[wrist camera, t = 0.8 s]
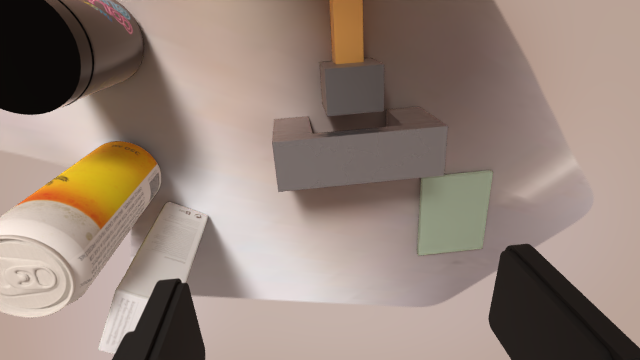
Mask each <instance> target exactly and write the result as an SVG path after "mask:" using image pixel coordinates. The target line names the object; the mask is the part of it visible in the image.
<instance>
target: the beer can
mask: <svg viewBox="0 0 640 360" xmlns="http://www.w3.org/2000/svg"><path fill="white" fill-rule="evenodd" d="M160 185H161V171H160V168H159V166H158V164H157V162H156V161H155V159H154V158H153V157H152V156H151V155H150V154H149V153H148V152H147V151H146V150H144V149H143V148H141V147H139V146H137V145H135V144H132V143H129V142H123V141H115V142H109V143H106V144H103V145H101V146H100V147H98V148H97V149H95V150H94V151H93V152H91V153H90V154H88V155H87V156H85V157H84V158H83V159H81V160H80V161H78V162H77V163H76V164H74V165H73V166H71V167H70V168H69V169H67V170H66V171H64V172H63V173H61V174H60V175H59V176H57V177H56V178H54V179H53V180H52V181H50V182H49V183H47V184H46V185H45V186H43V187H42V188H40V189H39V190H37V191H36V192H35V193H33V194H32V195H30V196H29V197H28V198H26V199H25V200H24V201H22V202H21V203H19V204H18V205H16V206H15V207H14V208H12V209H11V210H9V211H8V212H7V213H5V214H4V215H3V216H1V217H0V311H1V312H3V313H6V314H9V315H13V316H18V317H27V318H36V317H43V316H48V315H51V314H53V313H56V312H58V311H59V310H61V309H62V308H64V307H65V306H66V305H68V304H70V303H73V302H74V301H76V300H78V299H79V298H80V297H81V296H82V295H83V294H84V293H85V292H86V290H87V289H88V288H89V286H90V285H91V284H92V282H93V281H94V279H95V278H96V277H97V275H98V274H99V272H100V271H101V270H102V268H103V267H104V266H105V264H106V263H107V261H108V260H109V259H110V257H111V256H112V254H113V253H114V252H115V250H116V249H117V248H118V246H119V245H120V243H121V242H122V241H123V239H124V238H125V236H126V235H127V233H128V232H129V231H130V229H131V228H132V227H133V225H134V224H135V223H136V221H137V220H138V218H139V217H140V216H141V214H142V213H143V211H144V210H145V209H146V207H147V206H148V204H149V203H150V202H151V200H152V199H153V197H154V196H155V195H156V193H157V192H158V190H159V188H160Z"/></svg>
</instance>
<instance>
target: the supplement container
mask: <svg viewBox="0 0 640 360" xmlns="http://www.w3.org/2000/svg"><path fill="white" fill-rule="evenodd" d="M143 53H144V44H143V37H142V34H141V31H140V28H139V26H138V24H137V22H136V21H135V19H134V18H133V16H132V15H131V14H130V12H129V11H128V10H127V9H126V8H125V7H124V6H123V5H121V4H120V3H119V2H117V1H116V0H0V109H3V110H6V111H9V112H13V113H18V114H26V115H35V114H43V113H47V112H50V111H53V110H55V109H58V108H60V107H64V106H67V105H69V104H71V103H73V102H75V101H77V100H78V99H81V98H83V97H86V96H88V95H91V94H93V93H96V92H98V91H100V90H103V89H105V88H108V87H110V86H113V85H115V84H118V83H120V82H122V81H125V80H127V79H128V78H130V77H131V76H132V75H133V74H134V73H135V72H136V71H137V70H138V68H139V66H140V64H141V62H142V58H143Z"/></svg>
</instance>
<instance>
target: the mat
mask: <svg viewBox="0 0 640 360" xmlns="http://www.w3.org/2000/svg"><path fill="white" fill-rule="evenodd" d="M492 176H493V172H492V171H491V170H486V171H476V172H466V173H456V174H446V175H444V176H433V177H423V178H421V186H420V206H419V225H418V244H417V254H418V256H420V255H429V254H439V253H448V252H457V251H466V250H475V249H482V247H483V240H484V233H485V226H486V218H487V211H488V204H489V197H490V190H491V183H492Z"/></svg>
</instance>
